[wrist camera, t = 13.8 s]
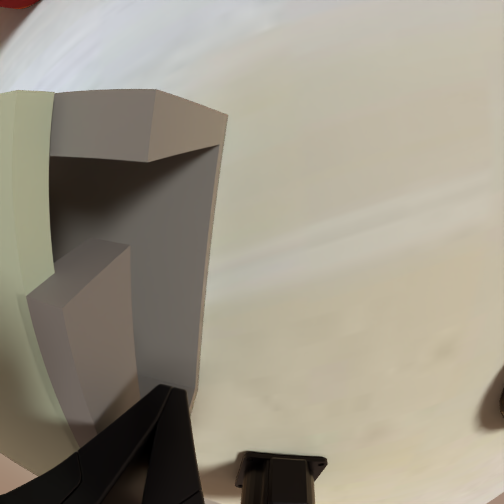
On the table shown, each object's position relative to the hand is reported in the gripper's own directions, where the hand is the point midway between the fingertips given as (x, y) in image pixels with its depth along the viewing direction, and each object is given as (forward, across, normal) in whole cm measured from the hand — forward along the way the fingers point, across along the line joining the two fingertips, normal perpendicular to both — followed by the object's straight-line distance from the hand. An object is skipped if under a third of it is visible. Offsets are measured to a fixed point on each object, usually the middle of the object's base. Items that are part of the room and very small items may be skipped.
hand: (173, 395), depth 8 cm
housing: (+7, +9, 0) cm, 12 cm away
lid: (+1, +8, 0) cm, 8 cm away
